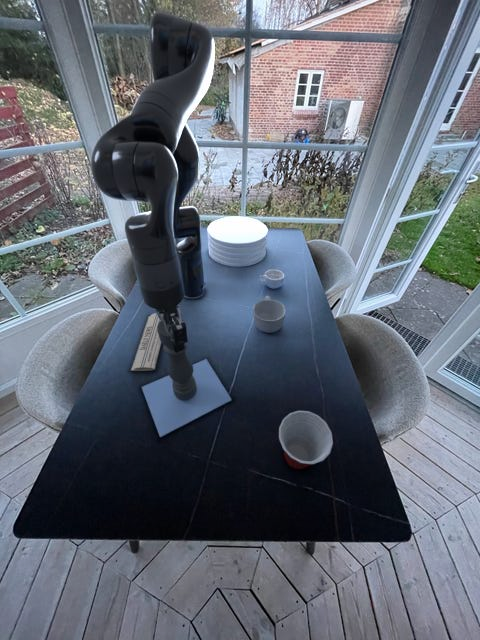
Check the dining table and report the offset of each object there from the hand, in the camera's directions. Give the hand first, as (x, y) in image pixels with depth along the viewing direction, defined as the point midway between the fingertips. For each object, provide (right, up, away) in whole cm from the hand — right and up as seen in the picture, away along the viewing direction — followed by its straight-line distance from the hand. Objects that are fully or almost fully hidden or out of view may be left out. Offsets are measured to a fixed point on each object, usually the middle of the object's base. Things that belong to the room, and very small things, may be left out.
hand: (174, 340), depth 58 cm
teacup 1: (+27, +19, +53) cm, 62 cm away
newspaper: (-15, -3, +29) cm, 33 cm away
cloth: (-1, -16, +15) cm, 22 cm away
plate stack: (+13, +38, +73) cm, 83 cm away
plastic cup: (+28, -28, +4) cm, 39 cm away
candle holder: (0, -15, +14) cm, 21 cm away
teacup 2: (+24, +3, +36) cm, 44 cm away
